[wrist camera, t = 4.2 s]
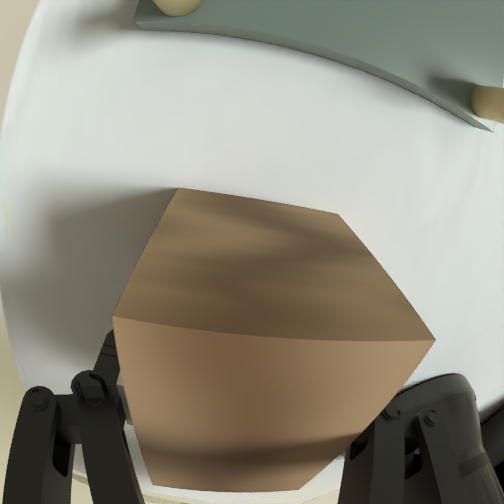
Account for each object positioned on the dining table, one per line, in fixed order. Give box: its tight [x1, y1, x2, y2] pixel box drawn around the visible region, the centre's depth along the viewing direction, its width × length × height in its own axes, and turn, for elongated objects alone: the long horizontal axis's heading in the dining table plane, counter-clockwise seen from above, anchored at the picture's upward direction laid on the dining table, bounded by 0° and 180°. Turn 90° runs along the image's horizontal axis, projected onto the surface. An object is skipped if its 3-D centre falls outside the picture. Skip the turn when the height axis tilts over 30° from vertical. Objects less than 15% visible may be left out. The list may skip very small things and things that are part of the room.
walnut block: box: [112, 188, 436, 492], centre depth 11 cm, size 7×11×8 cm, turn 169°
